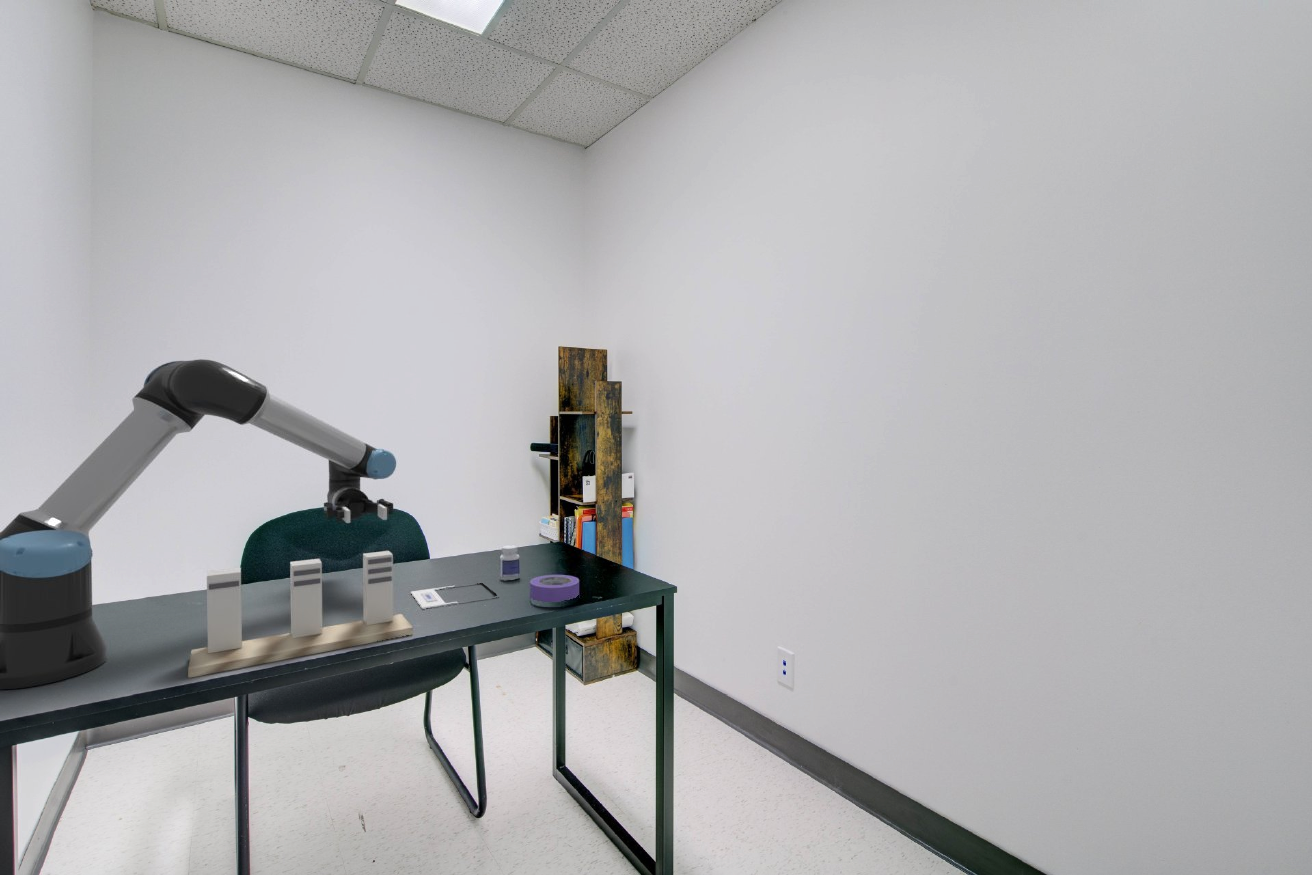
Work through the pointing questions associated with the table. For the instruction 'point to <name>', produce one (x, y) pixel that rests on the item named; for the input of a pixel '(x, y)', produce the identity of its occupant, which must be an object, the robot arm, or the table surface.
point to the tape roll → (554, 588)
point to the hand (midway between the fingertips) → (367, 515)
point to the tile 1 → (224, 610)
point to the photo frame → (429, 598)
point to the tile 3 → (377, 587)
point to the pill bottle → (509, 562)
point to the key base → (295, 645)
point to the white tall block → (306, 597)
